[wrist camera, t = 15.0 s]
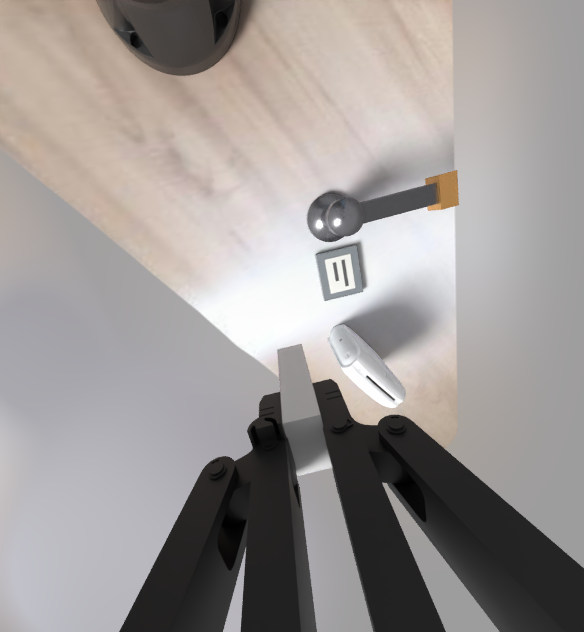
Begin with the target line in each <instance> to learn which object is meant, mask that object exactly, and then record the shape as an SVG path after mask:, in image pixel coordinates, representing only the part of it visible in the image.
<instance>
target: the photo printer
mask: <svg viewBox="0 0 584 632" xmlns="http://www.w3.org/2000/svg"><path fill="white" fill-rule="evenodd" d="M328 342H329V344H330V346H331V348H332V350H333V353H334V355H335V357H336V359H337V361H338V363H339V365H340V367H341V368H342V370H343V371H344V373H345V374H346V375H347V376H348V377H349V378H350V379H351V380H352V381H353V382H354V383H355V384H356V385H357V386H359V387H360V388H361V389H362V390H363V391H364V392H365V393H367V394H368V395H369V396H370V397H372V398H373V399H374V400H376V401H377V402H378V403H380V404H382V405H384V406H386V407H389V408H395V407H397V406H398V405H399V404H400V403H401V402H403V401H404V399H405V394H406V393H405V389H404V387H403V385H402V383H401V382H400V381H399V380H398V379H397V377H396V376H395V375H394V374H393V373H392V371H391V370H390V369H389V368H388V367H387V365H386V364H385V363H384V362H383V360H382V359H381V358H380V356H379V355H378V354H377V353H376V352H375V351H374V350H373V349H372V348H371V347H370V346H369V345H368V344H367V343H366V342H365V341H364V340H363V339H361V338H360V337H359V336H358V335H357V334H356V333H355V332H354V331H352V330H351V329H350V328H349V327H347V326H346V325H344V324H342V325H338V326H335V327H334V328H333V329H332V330H331V331H330V333H329V337H328Z"/></svg>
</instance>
